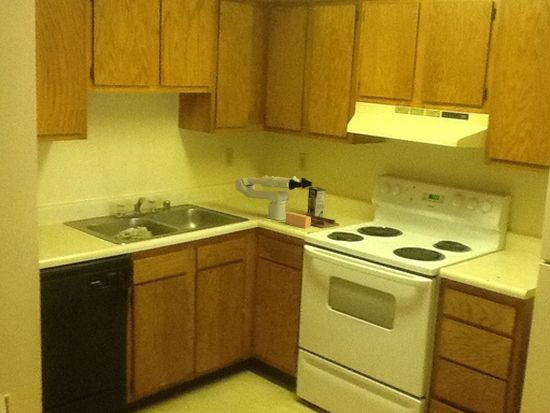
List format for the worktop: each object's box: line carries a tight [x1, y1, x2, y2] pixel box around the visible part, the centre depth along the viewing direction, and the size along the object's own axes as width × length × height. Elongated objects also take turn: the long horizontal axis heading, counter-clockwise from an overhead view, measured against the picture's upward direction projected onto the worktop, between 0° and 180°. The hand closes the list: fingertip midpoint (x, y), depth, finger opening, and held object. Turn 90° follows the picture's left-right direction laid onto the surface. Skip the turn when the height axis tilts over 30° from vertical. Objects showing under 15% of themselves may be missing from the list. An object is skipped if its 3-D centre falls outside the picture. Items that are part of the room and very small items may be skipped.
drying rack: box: [305, 213, 341, 229], centre depth 382 cm, size 22×14×3 cm, turn 46°
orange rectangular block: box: [285, 211, 311, 230], centre depth 373 cm, size 14×4×6 cm, turn 46°
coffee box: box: [306, 186, 327, 218], centre depth 400 cm, size 9×6×16 cm
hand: (306, 184), depth 372 cm, fingers open, 7 cm apart
